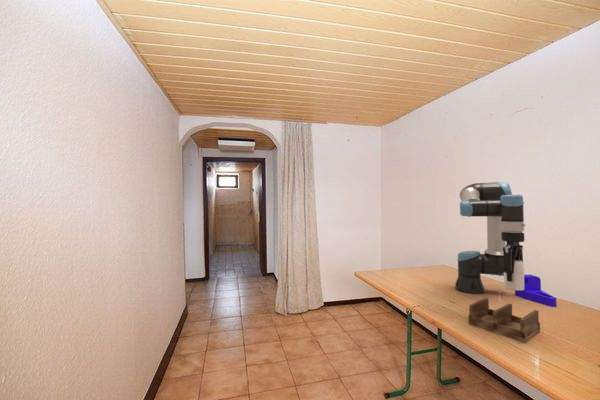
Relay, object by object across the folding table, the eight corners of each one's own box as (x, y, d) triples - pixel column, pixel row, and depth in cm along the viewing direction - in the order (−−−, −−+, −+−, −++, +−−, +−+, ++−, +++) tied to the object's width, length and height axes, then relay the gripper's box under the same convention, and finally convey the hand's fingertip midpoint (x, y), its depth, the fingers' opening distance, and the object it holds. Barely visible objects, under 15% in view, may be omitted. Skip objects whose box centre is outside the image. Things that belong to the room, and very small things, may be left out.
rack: (468, 323, 118) (468, 304, 118) (485, 315, 127) (484, 297, 127) (526, 342, 101) (525, 320, 101) (540, 331, 110) (539, 311, 110)
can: (528, 291, 107) (527, 261, 108) (509, 290, 109) (508, 260, 109) (518, 286, 114) (517, 258, 114) (501, 286, 115) (500, 257, 115)
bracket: (515, 295, 153) (514, 274, 154) (533, 295, 153) (533, 274, 154) (544, 307, 135) (543, 283, 136) (565, 307, 136) (564, 283, 136)
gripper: (514, 233, 103) (516, 294, 103) (532, 231, 114) (534, 285, 114) (492, 232, 110) (493, 289, 109) (510, 229, 120) (512, 281, 120)
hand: (514, 287), depth 111 cm, fingers closed on can, 6 cm apart
